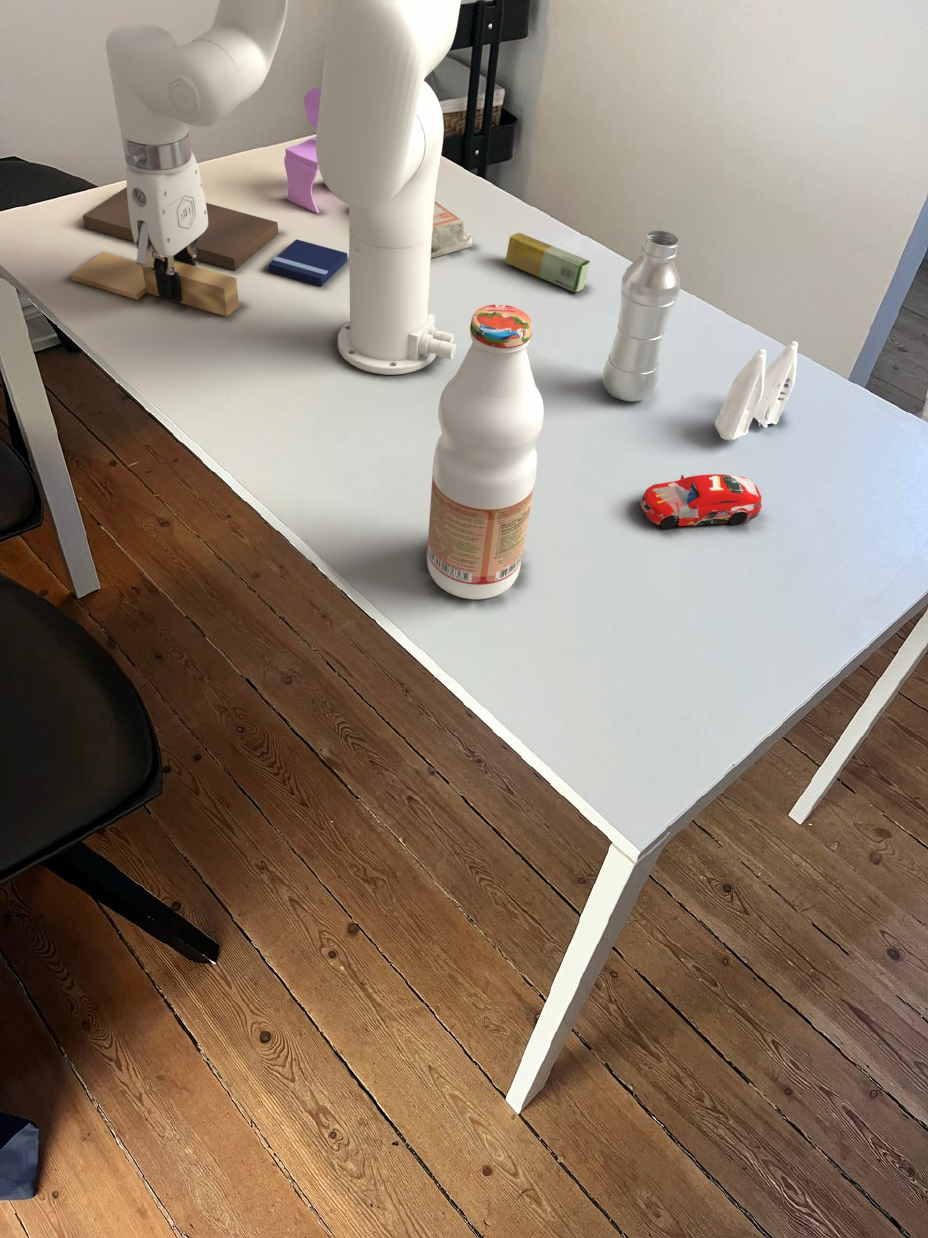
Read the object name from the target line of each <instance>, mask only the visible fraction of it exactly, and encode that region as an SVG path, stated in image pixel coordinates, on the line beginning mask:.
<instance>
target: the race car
mask: <svg viewBox="0 0 928 1238" xmlns="http://www.w3.org/2000/svg"><path fill="white" fill-rule="evenodd" d="M756 485H757V484H756V483H755V482H754V481H753V480H751V479H749V478H747V477H745V476H737V475H732V474H720V473H719V474H718V473H717V474H716V473H713V474H710V473H709V474H698V475H691V476H687V477H685V476H684V474H681V476H680V479H677V480H673V481H667V482H661V483H654V484H652V485H650V486H649V487H647V489H646V490H645V491H644V493H643V495H642V496H641V500H640V503H639V505H640V510H641V513H642V514H643V515H644V517H645V518H646V519H647V520H648V521H650V522H652V523H653V524H655V525H657V526H661V528H662V529H664V530H670V529H673V528H674V527H676V526H677V525H678V527H683V526H684V527H685V526H701V525H717V524H718V525H720V524H728V523H729V524H730V525H732V526H737V525H740V524H742V523H744V522H749V521H752V520H754V519H755V518H757V517H758V516H759V514H760V512H761V509H762V496H761V495H762V494H761V493H760V490H759V488H758V487H757V486H756Z"/></svg>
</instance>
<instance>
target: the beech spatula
mask: <svg viewBox="0 0 928 1238" xmlns="http://www.w3.org/2000/svg"><path fill="white" fill-rule="evenodd" d="M159 259H161V260H163V261H164V262H165V258H164V256H162V255H159ZM174 267H175V272H177V273H178V274H179V281H180V287H181V294H182V301H181V302H179V303H180V304H183V305H185V306H189V307H193V308H197V309H200V310H202V311H203V310H204V311H207V312H210V313H213V314H217V315H220V316H222V317H229V316H230V315H231V314H232V313H233V312H235V310H237V309H238V308H239V307H240V302H239V292H238V291H239V290H238V283H237V277H234V276H231V275H227V274H224V273H220V272H217V271H213V270H211V269H210V270H209V269H206V268H203V267H199V266H197V265H196V266H193V265H189V264H186V263H182V262H179V261H175V260H174ZM70 278H71V280H72V281H73V282H77V283H80V284H84V285H87V286H90V287H94V288H97V289H100V290H104V291H106V292H110V293H114V294H116V295H119V296H120V295H121V296H124V297H127V298H129V299H134V300H137V301H138V300H139V299H141V297H143V296H144V295H146V294H149V295H152V296H156V297H159V298H161V297H160V296H159V294H158V289H157V283H156V277H155V271H152V270H151V268H147V267H143V266H140V265H137V260H133V259H132V260H131V259H129V258H126V257H121V256H118V255H115V254H112V253H107V252H105V251H102V252H101V253H99V254H98V255H97V256H95V257H94V258H92V259H91V260H89V261H88V262H86V263H85V264H84V265H82V266H81V267H80V268H77V270H75V271H74V272H72V273H71V274H70ZM179 303H178V304H179Z"/></svg>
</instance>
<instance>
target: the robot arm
mask: <svg viewBox="0 0 928 1238" xmlns="http://www.w3.org/2000/svg"><path fill="white" fill-rule="evenodd" d="M288 1H289V0H219V2H218V6H217V10H216V12H215V15H214V19H213V22H212V23H211V24H212V25H211V27H210V29H209V30H206V31H205V32H204V33H202V34H200V35H199V36H197V37H195V38H194V39H192V40H191V41H189V42H187V43H184V44H181V45H178V44H177V40H176V39H175V37H174V36H173V34H172V33H171V32H169V30H167V29H165V28H163V27H161V26H157V25H154V24H149V23H130V24H125V25H120V26H118V27H116V28H113V30H111V31H110V32H109V34H107V37H106V42H105V50H106V56H107V61H108V67H109V74H110V79H111V85H112V90H113V96H114V102H115V107H116V115H117V120H118V124H119V131H120V136H121V141H122V148H123V152H124V158H125V159H124V160H125V163H126V165H127V167H126V173H125V175H126V187H127V199H128V209H129V217H130V223H131V229H132V234H133V239H134V242H133V243H134V245H135V247H136V248H137V253H136V254H137V255H136V262H137V265H140V266H143V267H147V268H151V270H152V271H155V277H156V283H157V289H158V294H159V296H160V297H159V296H158V297H159V298H160V299H164V300H167V301H170V302H174V303H177V304H179V302H181V301H182V294H181V287H180V281H179V274H178V273H177V272H175V267H174V260H175V261H179V262H182V263H186V264H189V265H193V266H196V267H197V265H196V259H193V258H195V257H196V255H197V250H196V242H197V239H198V237H199V236H200V235H201V234H203V233H204V232H205V230H206V229H207V227H208V215H207V208H206V203H207V202H206V196H205V191H204V186H203V182H202V181H203V180H202V177H201V173H200V169H199V165H198V163H197V159H196V157H195V154H194V152H193V151H192V149H191V142H190V133H189V126H193V127H196V128H206V127H210V126H213V125H215V124H217V123H218V122H220V121H221V120H223V119H224V118H225V117H226V116H227V115H229V114H230V113H232V112H233V111H234V110H235V109H236V108H237V107H238V106H240V105H241V104H243V103H244V102H245V101H246V100H248V99H249V98H250V97H252V95H254V94H256V92H258V90H259V89H260V87H262V85H263V83H264V82H265V80H266V78H267V76H268V73H269V71H270V70H271V69H270V68H271V66H272V63H273V60H274V57H275V54H276V51H277V48H278V45H279V43H280V39H281V36H282V33H283V30H284V27H285V22H286V19H287V14H288V13H287V12H288ZM461 4H462V0H342V1H341V3H340V5H339V6H338V8H337V10H336V12H335V14H334V16H333V19H332V21H331V26H330V28H329V33H328V36H327V41H326V49H325V56H324V57H325V58H324V65H323V73H322V81H321V87H322V89H321V98H320V106H319V115H318V123H317V128H316V135H315V137H316V157H317V162H318V167H319V172H320V175H321V178H322V180H324V182H325V183H326V184H325V186H327V188H328V189H329V192H331V194H333V195H334V196H335V197H336V198H337V199H338V200H340V201H341V202H342V203H344V204H346V205H348V207H349V210H348V239H349V240H348V248H349V249H348V251H349V252H348V253H349V254H348V255H349V257H348V258H349V259H348V261H349V262H348V263H349V265H348V266H349V268H348V269H349V321H348V322H347V323H345V324H344V325H343V326H342V327H341V329H339V332H338V334H337V348H338V349H337V350H338V351H339V354H340V355H341V356H342V358H343V359H344V360H345V361H347V362H348V363H349V364H350V365H352V366H354V367H355V368H357V369H360V370H362V371H365V372H367V373H372V374H373V373H374V374H378V375H388V376H389V375H392V376H393V375H394V376H395V375H405V374H410V373H413V372H416V371H419V370H421V369H423V368H425V367H427V366H428V365H430V364H431V363H432V362H433V361H434V360H435V358H436V356H438V357H442V358H443V359H448V360H451V361H453V359H454V358H455V356H456V353H457V344H456V343H454V340H455V334H454V333H453V332H448V331H443V330H440V329H438V327H436V326H435V322H436V315H435V314H433V313H429V312H428V311H429V295H430V278H431V277H430V276H431V259H432V258H431V242H432V232H433V215H434V202H435V201H436V200H435V199H436V191H437V182H438V175H439V170H440V165H441V163H440V162H441V157H442V152H443V144H444V134H445V133H444V130H445V128H444V127H445V126H444V116H443V111H442V107H441V104H440V101H439V98H438V97H437V95H436V93H435V91H434V90H433V89H432V87H431V86H430V85H429V84H428V82H427V81H425V79H426V77H428V75H430V74H431V72H432V71H434V70H435V68H437V67H438V65H439V64H440V63H441V62H442V60H444V58H445V57H446V56H447V54H449V53H448V52H449V51H450V49H451V48H452V45H453V43H454V40H455V36H456V33H457V28H458V22H459V15H460V9H461ZM188 125H189V126H188ZM159 256H162V257H164V258H165V262H164V261H163V260H161V259H159Z"/></svg>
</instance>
